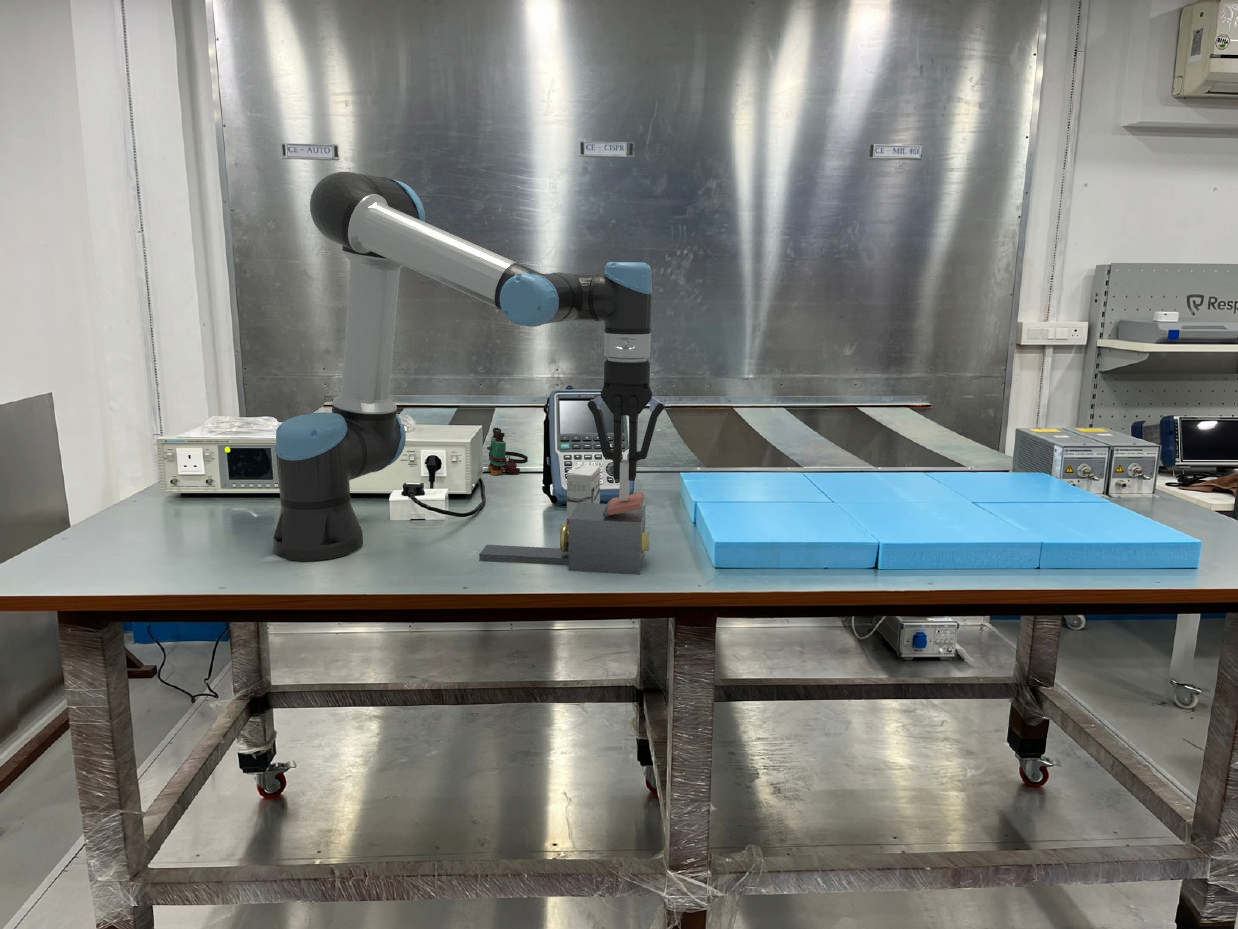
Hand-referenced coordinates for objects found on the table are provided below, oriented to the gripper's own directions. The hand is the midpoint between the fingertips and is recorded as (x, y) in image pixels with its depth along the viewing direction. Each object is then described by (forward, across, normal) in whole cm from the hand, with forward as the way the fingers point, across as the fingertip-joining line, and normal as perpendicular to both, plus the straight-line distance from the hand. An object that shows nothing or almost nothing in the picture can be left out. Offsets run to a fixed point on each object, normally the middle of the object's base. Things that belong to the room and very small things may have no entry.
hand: (624, 498), depth 143 cm
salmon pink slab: (+2, -3, 0) cm, 3 cm away
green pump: (+12, -35, +61) cm, 71 cm away
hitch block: (+12, -11, 0) cm, 16 cm away
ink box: (+12, -10, +19) cm, 24 cm away
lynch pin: (+10, -3, 0) cm, 10 cm away
